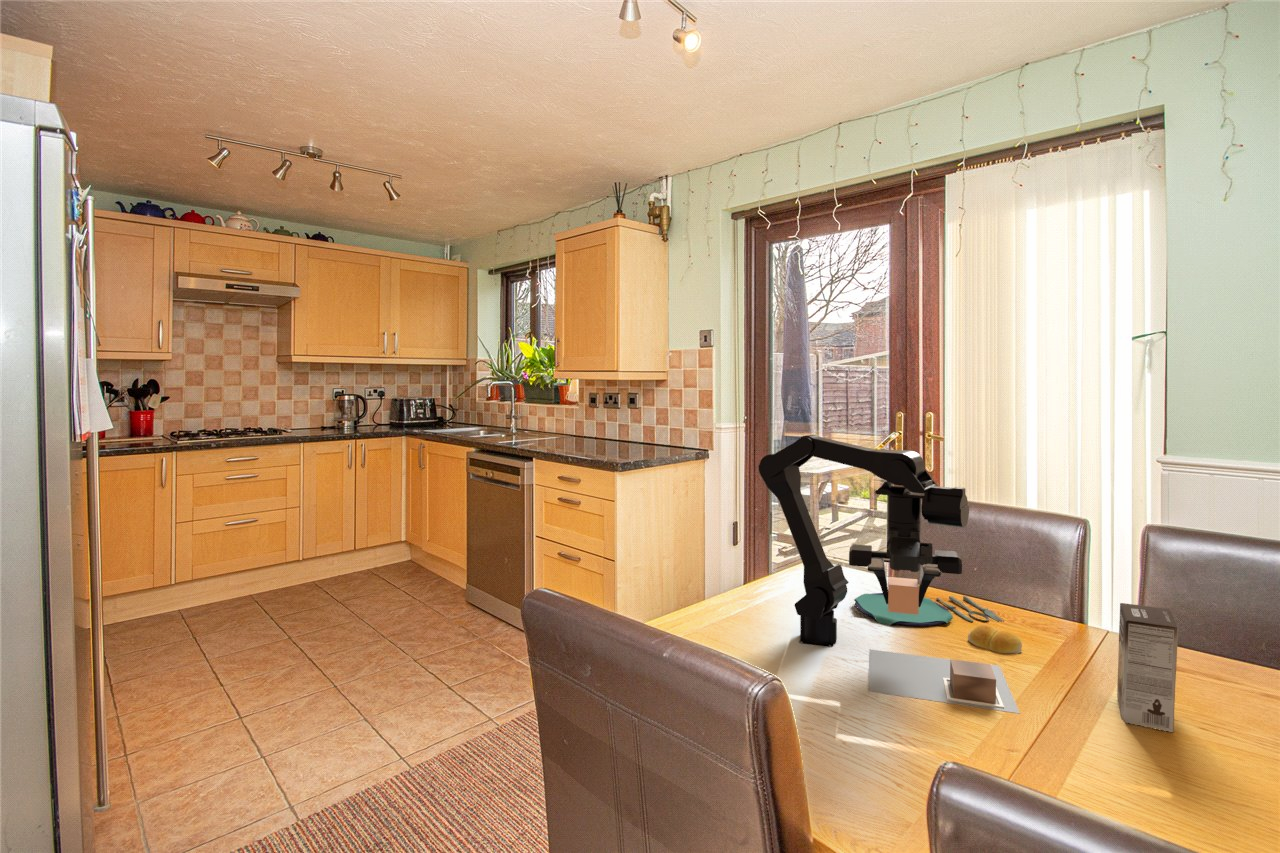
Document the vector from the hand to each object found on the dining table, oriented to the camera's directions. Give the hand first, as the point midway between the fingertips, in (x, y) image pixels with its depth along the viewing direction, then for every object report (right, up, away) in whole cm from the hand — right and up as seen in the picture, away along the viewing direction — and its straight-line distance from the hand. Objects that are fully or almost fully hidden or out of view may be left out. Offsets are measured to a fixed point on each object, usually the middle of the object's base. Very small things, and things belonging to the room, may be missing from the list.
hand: (902, 604), depth 117 cm
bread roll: (+21, -11, +8) cm, 25 cm away
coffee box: (+30, -12, -18) cm, 37 cm away
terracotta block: (0, -1, 0) cm, 1 cm away
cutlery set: (+16, -10, +27) cm, 33 cm away
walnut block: (+6, -11, -12) cm, 18 cm away
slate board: (+3, -11, -6) cm, 13 cm away
